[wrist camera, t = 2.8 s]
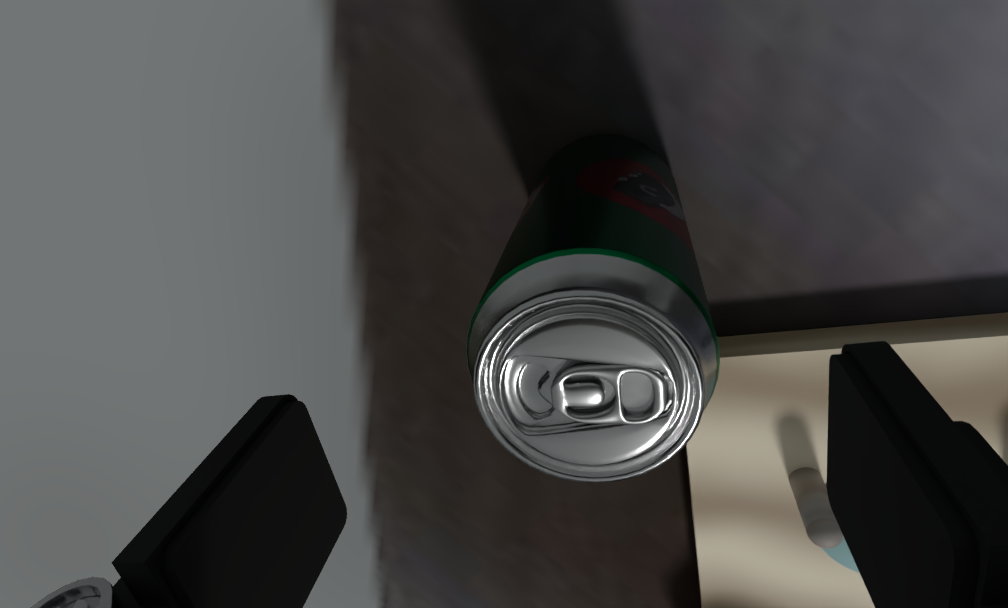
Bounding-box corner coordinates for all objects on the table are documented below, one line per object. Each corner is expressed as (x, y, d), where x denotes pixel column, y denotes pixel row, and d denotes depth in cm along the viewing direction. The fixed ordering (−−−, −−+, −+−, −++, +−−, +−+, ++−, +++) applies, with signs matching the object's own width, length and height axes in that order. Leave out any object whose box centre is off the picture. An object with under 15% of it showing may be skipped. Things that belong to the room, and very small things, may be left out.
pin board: (675, 340, 24) (686, 413, 20) (1180, 297, 20) (1326, 377, 16) (702, 614, 30) (714, 712, 26) (1084, 623, 26) (1168, 739, 22)
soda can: (526, 138, 21) (429, 280, 11) (675, 121, 20) (731, 261, 10) (543, 270, 23) (476, 496, 13) (678, 262, 22) (727, 501, 12)
